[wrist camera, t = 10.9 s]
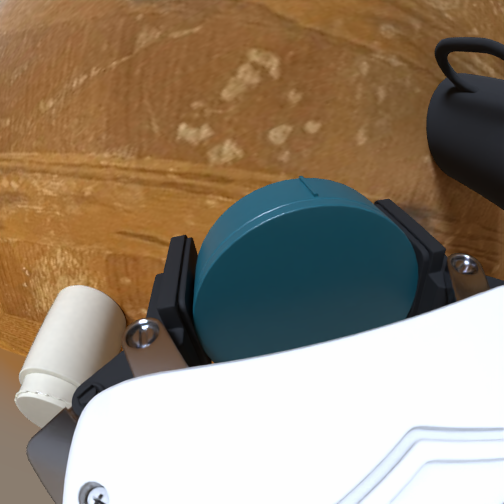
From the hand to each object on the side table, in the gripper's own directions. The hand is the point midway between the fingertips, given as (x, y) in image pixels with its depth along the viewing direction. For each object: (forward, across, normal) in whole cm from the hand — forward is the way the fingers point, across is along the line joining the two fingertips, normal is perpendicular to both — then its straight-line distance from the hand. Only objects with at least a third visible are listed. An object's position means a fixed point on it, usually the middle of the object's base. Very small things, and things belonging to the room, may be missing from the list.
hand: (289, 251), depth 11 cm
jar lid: (-3, 0, 0) cm, 3 cm away
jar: (+7, +15, +7) cm, 18 cm away
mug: (+8, -14, -4) cm, 17 cm away
